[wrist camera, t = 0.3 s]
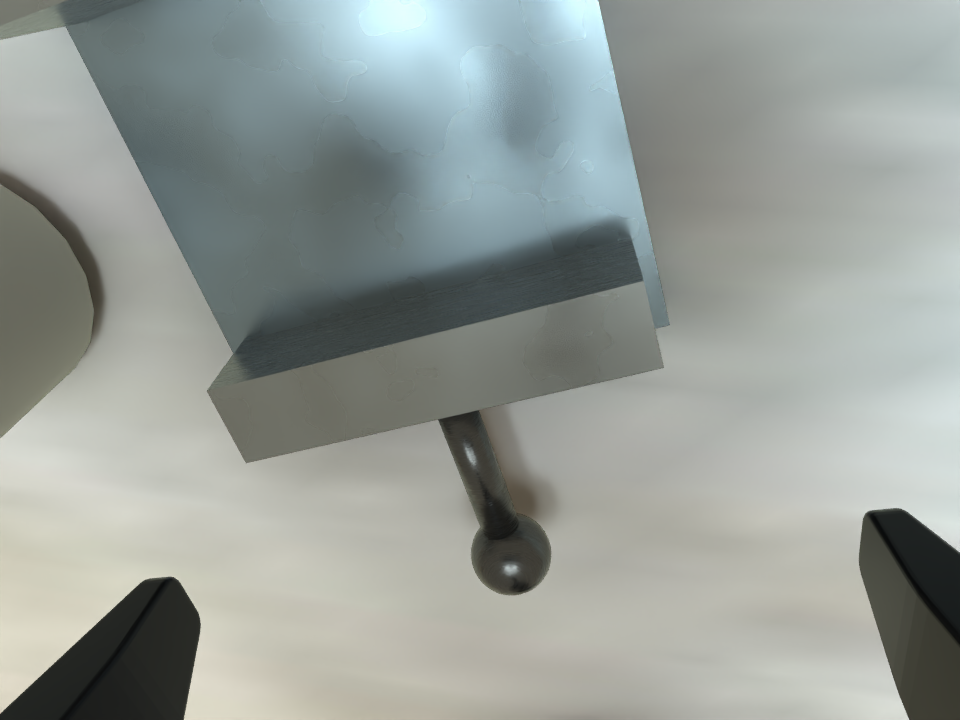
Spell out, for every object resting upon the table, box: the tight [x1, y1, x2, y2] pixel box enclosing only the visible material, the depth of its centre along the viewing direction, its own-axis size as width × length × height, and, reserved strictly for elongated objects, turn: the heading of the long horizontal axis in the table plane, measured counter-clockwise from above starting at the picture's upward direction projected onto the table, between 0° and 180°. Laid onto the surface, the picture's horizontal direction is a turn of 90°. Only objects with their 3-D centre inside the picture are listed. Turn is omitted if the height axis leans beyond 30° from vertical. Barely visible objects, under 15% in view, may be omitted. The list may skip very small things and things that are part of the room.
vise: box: [0, 0, 670, 595], centre depth 20 cm, size 22×13×7 cm, turn 17°
